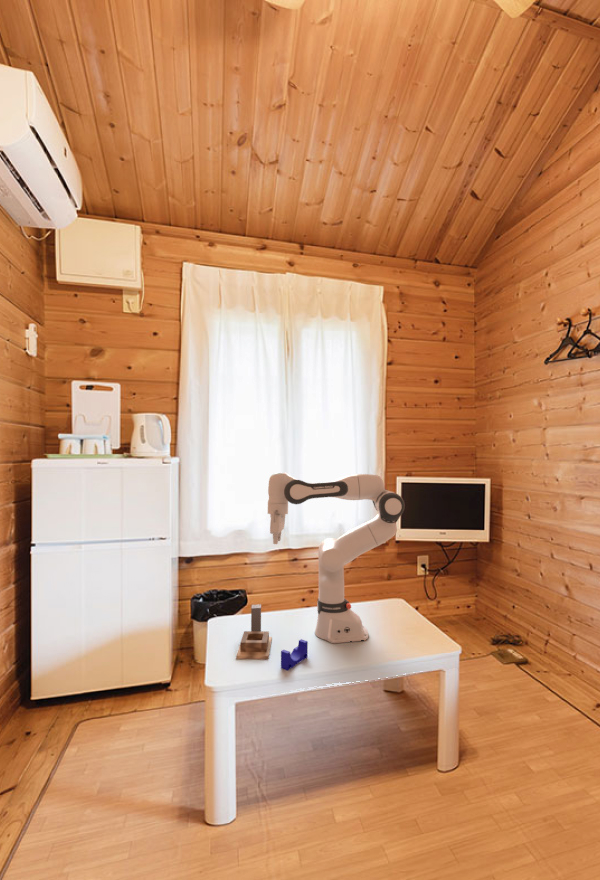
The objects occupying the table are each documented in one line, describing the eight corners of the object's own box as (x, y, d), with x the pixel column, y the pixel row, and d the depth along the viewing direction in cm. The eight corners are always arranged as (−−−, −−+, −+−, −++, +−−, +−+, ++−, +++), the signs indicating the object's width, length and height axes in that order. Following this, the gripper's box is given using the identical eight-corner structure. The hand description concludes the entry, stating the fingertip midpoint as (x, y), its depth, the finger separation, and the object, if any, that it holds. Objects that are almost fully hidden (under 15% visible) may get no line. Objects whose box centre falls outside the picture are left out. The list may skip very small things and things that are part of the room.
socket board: (271, 639, 166) (271, 628, 166) (268, 658, 150) (268, 646, 150) (242, 639, 166) (242, 628, 166) (236, 658, 150) (236, 646, 150)
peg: (260, 633, 172) (261, 604, 172) (260, 637, 168) (260, 607, 168) (251, 633, 171) (251, 604, 172) (251, 637, 168) (251, 608, 168)
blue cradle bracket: (298, 654, 154) (298, 638, 154) (307, 657, 151) (307, 641, 151) (277, 667, 144) (277, 649, 144) (287, 671, 141) (287, 653, 142)
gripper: (282, 511, 164) (281, 546, 163) (287, 508, 185) (286, 539, 183) (266, 511, 165) (266, 545, 163) (273, 508, 185) (272, 539, 183)
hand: (276, 542), depth 173 cm, fingers open, 8 cm apart
